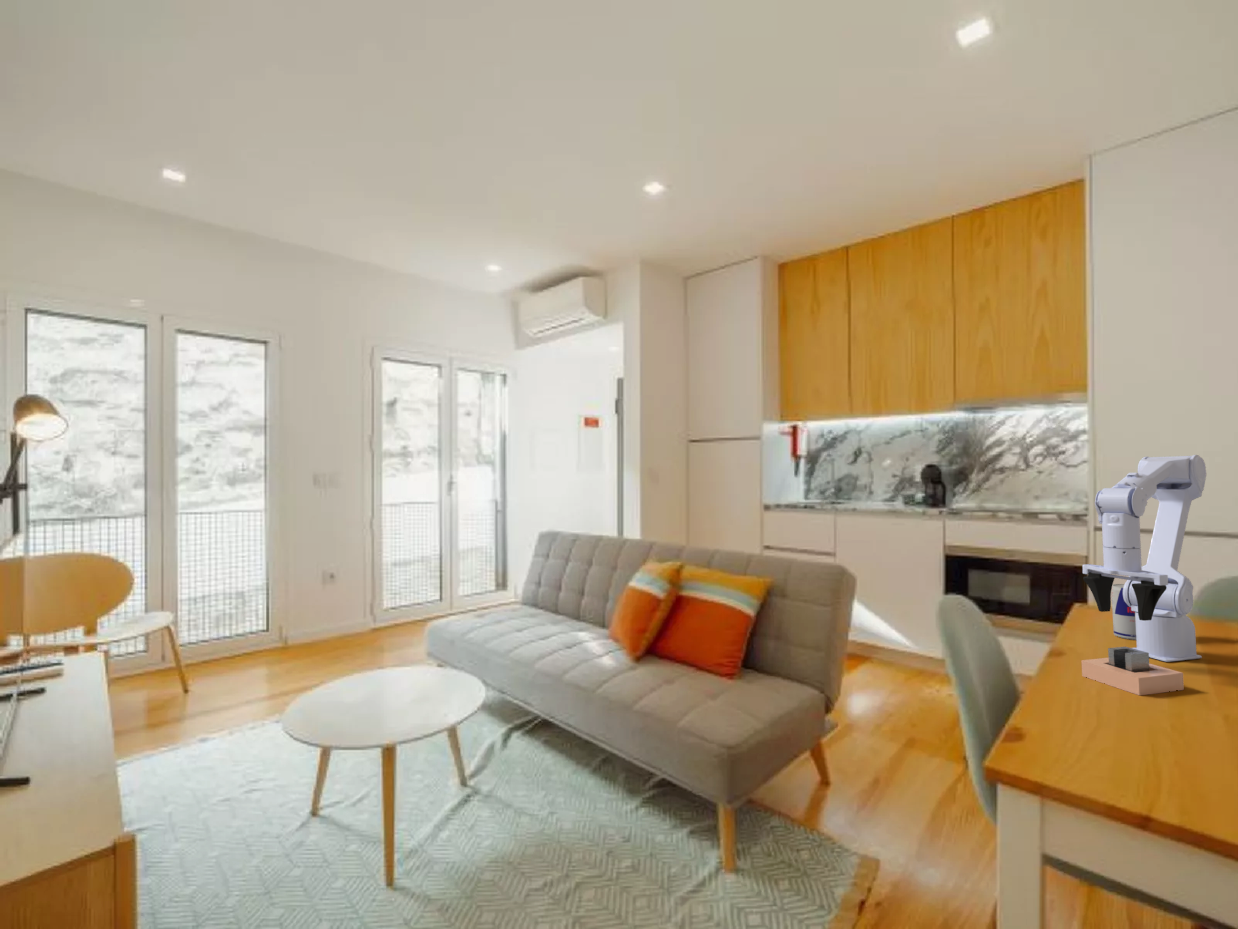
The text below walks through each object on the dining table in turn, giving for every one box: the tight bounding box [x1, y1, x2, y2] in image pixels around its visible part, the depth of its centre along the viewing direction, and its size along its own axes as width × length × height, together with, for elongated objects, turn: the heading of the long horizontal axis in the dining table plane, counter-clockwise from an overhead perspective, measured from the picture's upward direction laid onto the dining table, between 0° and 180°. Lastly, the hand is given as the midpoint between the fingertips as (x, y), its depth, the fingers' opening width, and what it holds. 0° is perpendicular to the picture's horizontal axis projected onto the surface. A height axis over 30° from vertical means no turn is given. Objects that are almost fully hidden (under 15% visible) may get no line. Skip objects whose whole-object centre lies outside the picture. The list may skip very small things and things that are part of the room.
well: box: [1081, 657, 1185, 696], centre depth 104 cm, size 10×10×3 cm
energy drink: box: [1111, 583, 1136, 641], centre depth 133 cm, size 5×5×12 cm
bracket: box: [1107, 646, 1150, 673], centre depth 104 cm, size 4×4×6 cm
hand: (1124, 615), depth 112 cm, fingers open, 7 cm apart
